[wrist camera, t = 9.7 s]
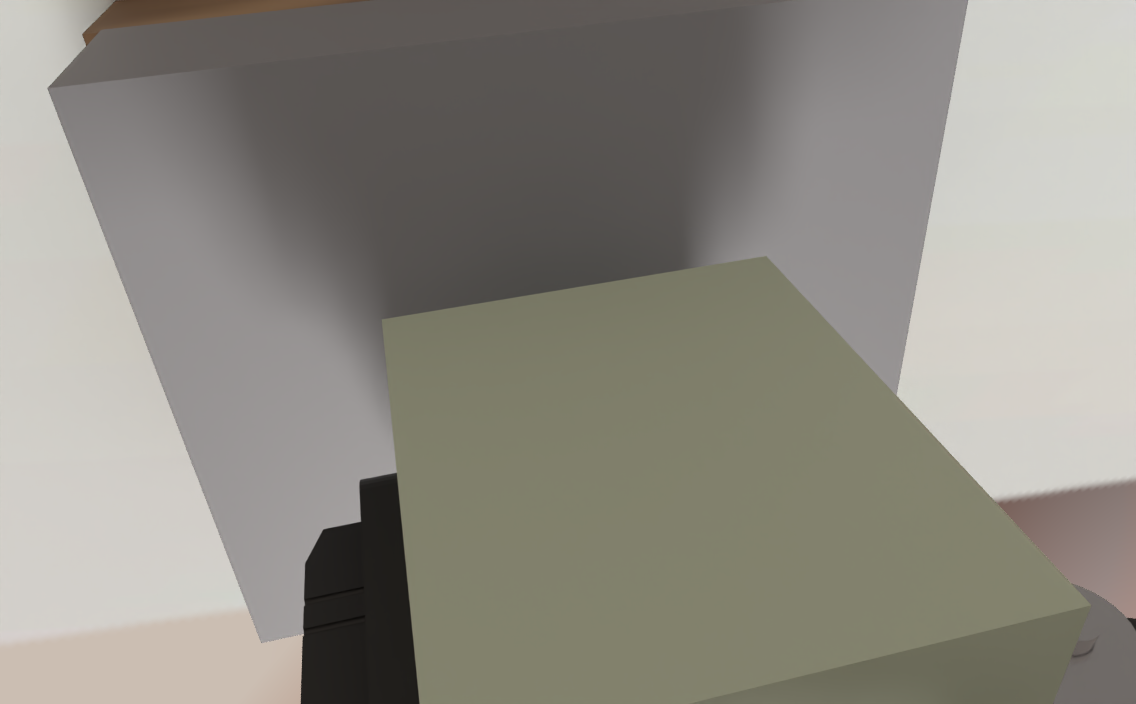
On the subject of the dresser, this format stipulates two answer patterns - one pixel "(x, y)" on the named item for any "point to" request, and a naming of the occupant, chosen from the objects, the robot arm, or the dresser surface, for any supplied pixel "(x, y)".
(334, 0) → the tower bottom
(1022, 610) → the block
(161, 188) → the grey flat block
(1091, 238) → the dresser surface
